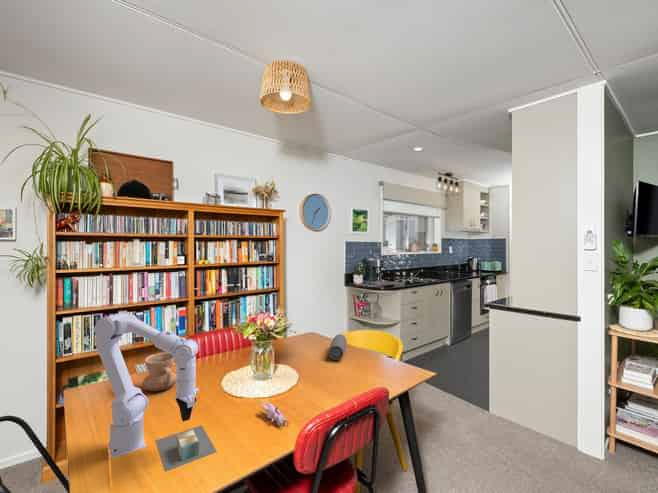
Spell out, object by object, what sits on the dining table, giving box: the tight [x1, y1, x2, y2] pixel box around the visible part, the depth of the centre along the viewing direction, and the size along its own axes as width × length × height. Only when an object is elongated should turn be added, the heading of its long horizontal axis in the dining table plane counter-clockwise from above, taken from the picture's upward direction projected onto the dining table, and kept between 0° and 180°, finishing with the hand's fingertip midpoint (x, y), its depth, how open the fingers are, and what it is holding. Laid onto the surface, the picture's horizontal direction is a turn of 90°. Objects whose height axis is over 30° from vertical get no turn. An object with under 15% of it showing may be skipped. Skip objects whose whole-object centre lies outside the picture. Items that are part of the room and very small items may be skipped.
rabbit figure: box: [261, 402, 290, 429], centre depth 120 cm, size 6×6×15 cm
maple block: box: [177, 430, 199, 461], centre depth 101 cm, size 5×4×8 cm
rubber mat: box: [155, 425, 218, 473], centre depth 103 cm, size 15×18×1 cm
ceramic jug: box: [141, 352, 177, 392], centre depth 145 cm, size 18×14×14 cm
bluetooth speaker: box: [328, 333, 348, 361], centre depth 190 cm, size 23×9×10 cm, turn 172°
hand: (185, 419), depth 103 cm, fingers closed
